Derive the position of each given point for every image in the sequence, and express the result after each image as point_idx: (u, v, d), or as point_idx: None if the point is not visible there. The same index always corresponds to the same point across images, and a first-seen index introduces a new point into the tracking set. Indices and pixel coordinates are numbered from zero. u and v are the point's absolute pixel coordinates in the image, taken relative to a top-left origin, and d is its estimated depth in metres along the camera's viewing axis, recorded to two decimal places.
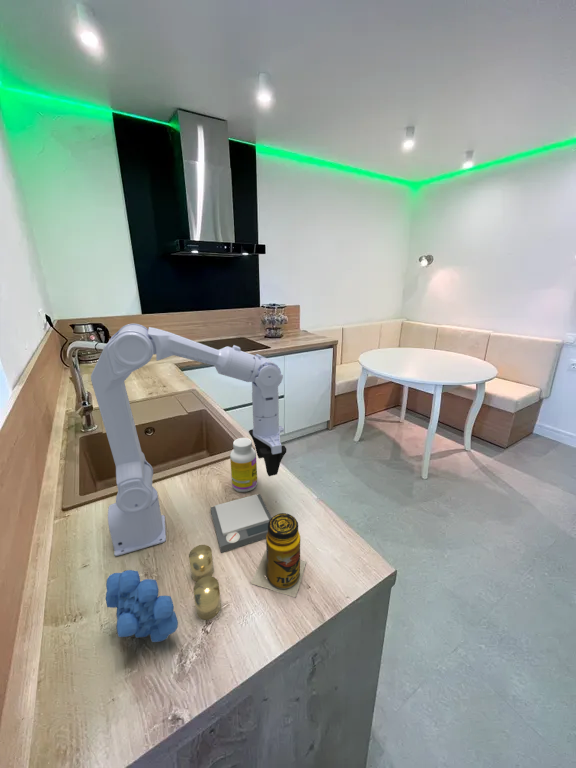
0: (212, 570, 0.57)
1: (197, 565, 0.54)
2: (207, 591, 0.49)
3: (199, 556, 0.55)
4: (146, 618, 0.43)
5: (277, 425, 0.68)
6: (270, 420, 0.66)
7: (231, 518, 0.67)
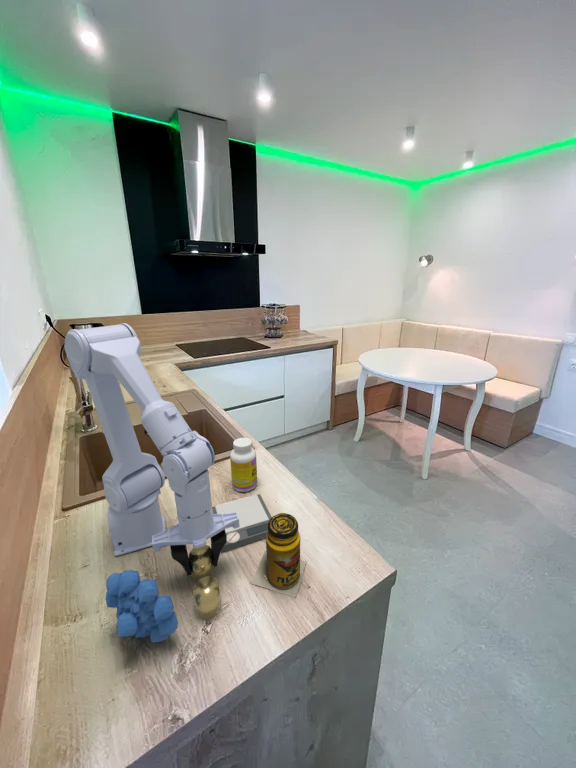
0: (212, 570, 0.57)
1: (197, 565, 0.54)
2: (207, 591, 0.49)
3: (199, 556, 0.55)
4: (146, 618, 0.43)
5: (185, 530, 0.51)
6: (177, 515, 0.51)
7: None
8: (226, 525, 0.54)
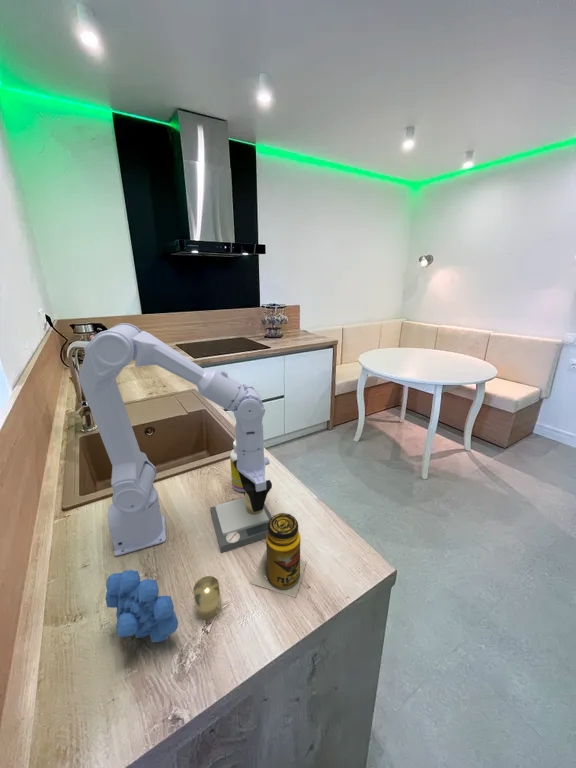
0: None
1: None
2: (207, 591, 0.49)
3: None
4: (146, 618, 0.43)
5: (262, 458, 0.64)
6: (254, 454, 0.62)
7: (231, 518, 0.67)
8: None
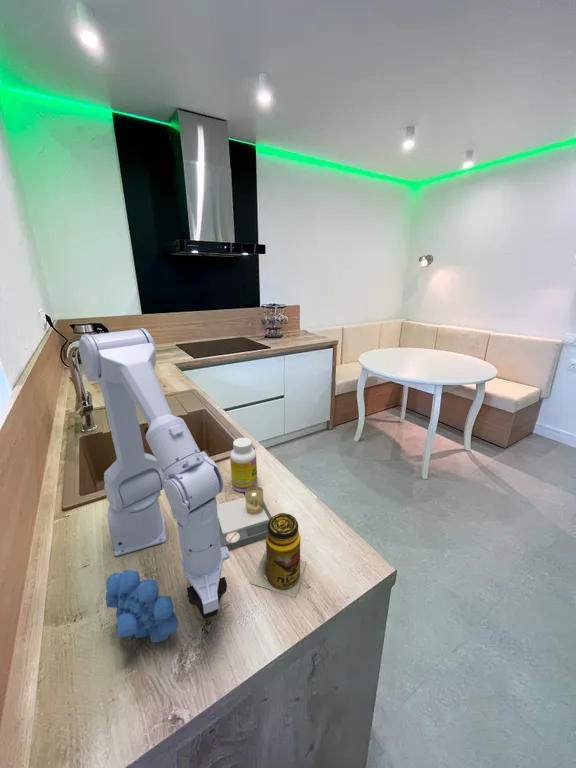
0: None
1: None
2: None
3: (257, 491, 0.69)
4: (146, 618, 0.43)
5: (217, 555, 0.46)
6: (204, 554, 0.44)
7: (231, 518, 0.67)
8: None
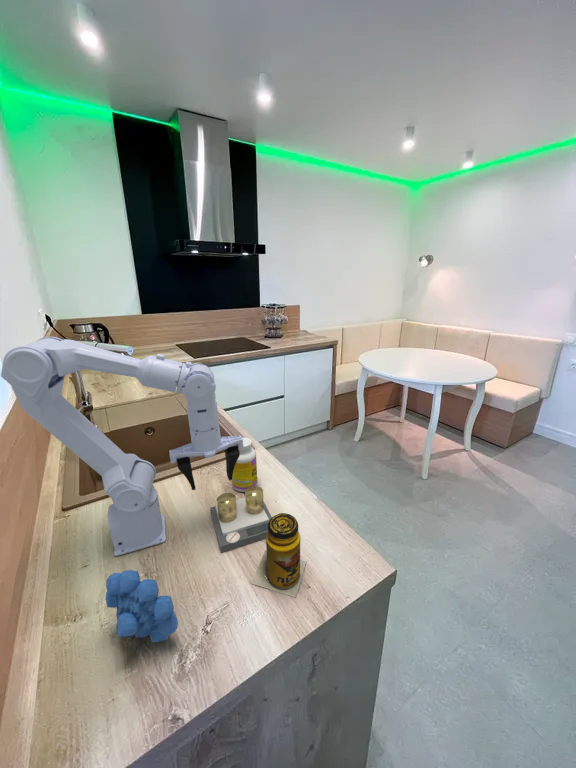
0: None
1: None
2: (227, 500, 0.66)
3: (257, 491, 0.69)
4: (146, 618, 0.43)
5: (197, 443, 0.60)
6: (190, 431, 0.61)
7: None
8: (232, 443, 0.63)
